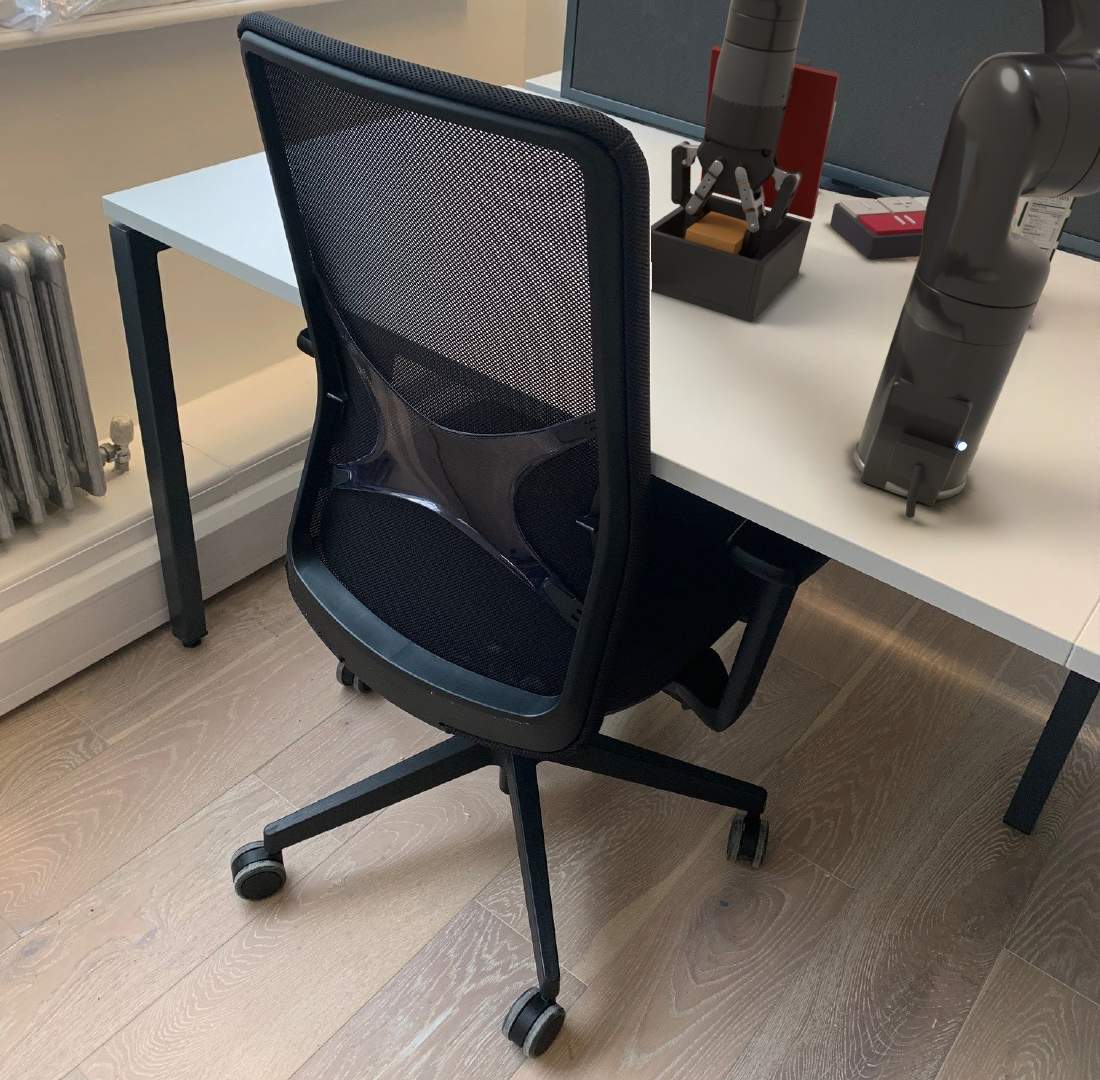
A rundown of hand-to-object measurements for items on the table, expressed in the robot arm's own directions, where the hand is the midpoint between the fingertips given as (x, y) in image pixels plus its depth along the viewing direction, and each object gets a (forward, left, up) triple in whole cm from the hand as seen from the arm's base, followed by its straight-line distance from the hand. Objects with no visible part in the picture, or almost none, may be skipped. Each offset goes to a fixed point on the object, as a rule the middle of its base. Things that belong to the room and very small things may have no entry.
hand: (718, 253), depth 113 cm
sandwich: (0, 0, -1) cm, 1 cm away
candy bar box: (+18, -28, -4) cm, 34 cm away
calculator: (+29, -14, -4) cm, 33 cm away
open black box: (+2, 0, -4) cm, 5 cm away
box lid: (+8, 0, +11) cm, 13 cm away
